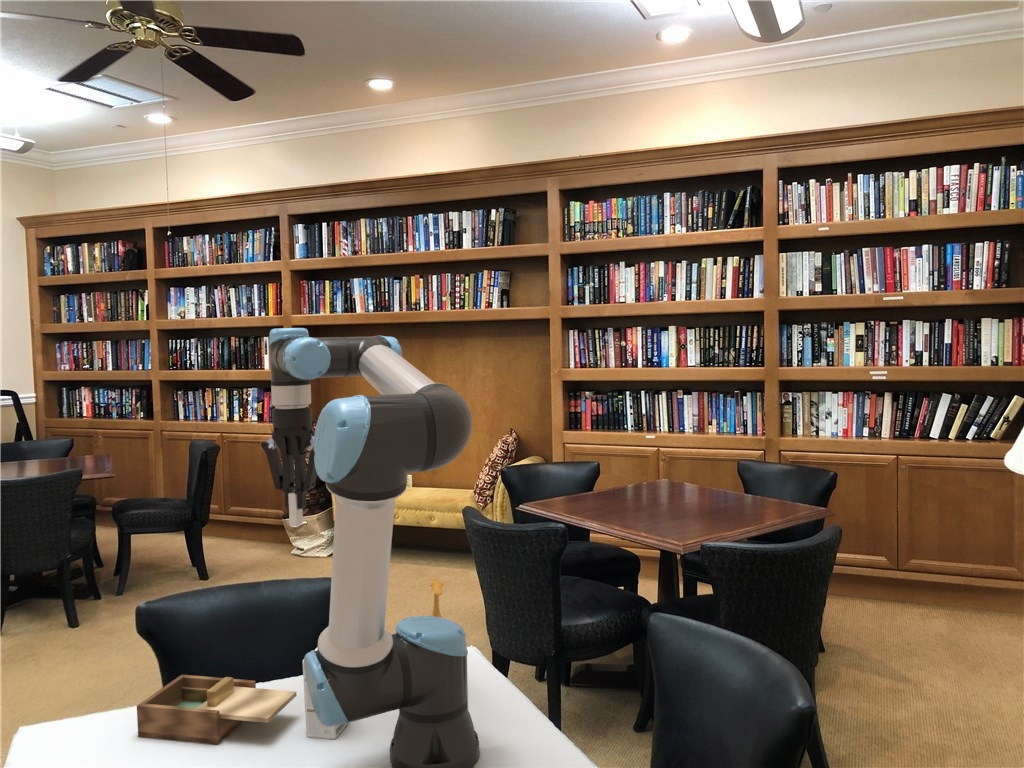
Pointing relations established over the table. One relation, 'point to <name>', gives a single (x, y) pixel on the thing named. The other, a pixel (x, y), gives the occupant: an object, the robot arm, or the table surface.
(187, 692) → the walnut box
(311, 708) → the syrup box
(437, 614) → the giraffe
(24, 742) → the table surface
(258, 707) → the cover plate
